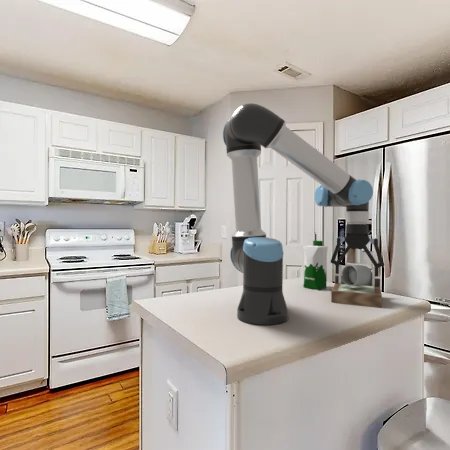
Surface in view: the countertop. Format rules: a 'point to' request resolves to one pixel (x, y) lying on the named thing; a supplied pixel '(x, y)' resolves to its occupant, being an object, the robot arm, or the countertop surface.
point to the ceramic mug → (356, 275)
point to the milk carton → (315, 265)
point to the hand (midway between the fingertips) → (356, 284)
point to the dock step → (357, 294)
